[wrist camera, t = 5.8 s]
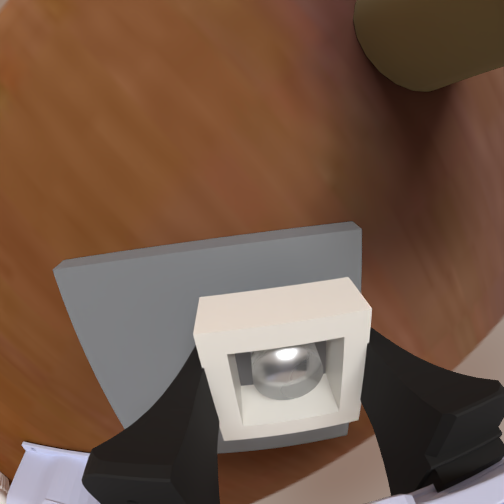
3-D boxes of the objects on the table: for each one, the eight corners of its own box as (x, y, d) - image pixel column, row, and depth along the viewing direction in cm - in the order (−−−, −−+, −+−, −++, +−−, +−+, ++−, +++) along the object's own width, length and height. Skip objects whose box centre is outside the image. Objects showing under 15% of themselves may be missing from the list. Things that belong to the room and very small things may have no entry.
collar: (224, 401, 14) (224, 440, 12) (199, 297, 12) (193, 334, 10) (343, 383, 14) (358, 419, 12) (348, 276, 12) (372, 308, 10)
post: (251, 349, 15) (256, 404, 12) (244, 303, 14) (248, 354, 11) (305, 341, 15) (322, 394, 12) (303, 294, 14) (323, 343, 11)
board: (143, 441, 19) (140, 453, 18) (63, 260, 14) (52, 269, 13) (342, 422, 19) (347, 434, 18) (352, 221, 14) (361, 228, 13)
